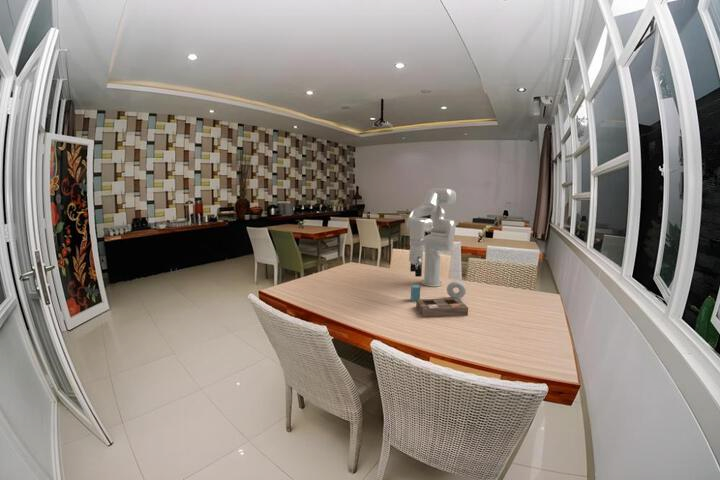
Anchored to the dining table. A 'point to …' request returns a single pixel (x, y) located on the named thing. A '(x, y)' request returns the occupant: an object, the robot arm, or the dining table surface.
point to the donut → (459, 285)
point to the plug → (415, 293)
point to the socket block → (441, 307)
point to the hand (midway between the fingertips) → (415, 273)
